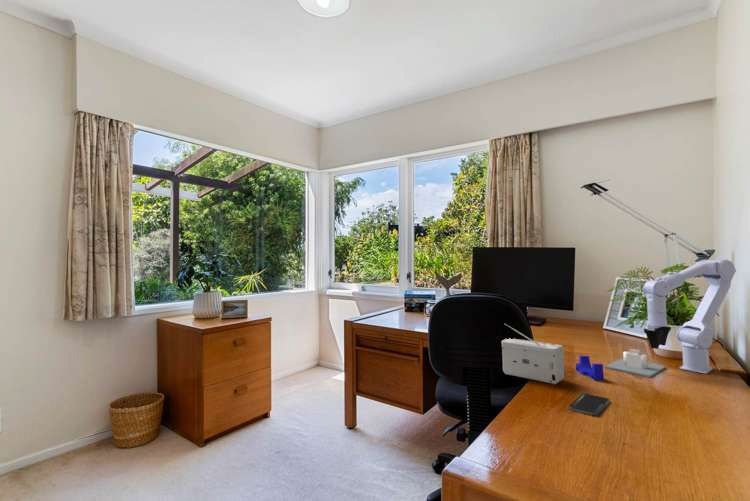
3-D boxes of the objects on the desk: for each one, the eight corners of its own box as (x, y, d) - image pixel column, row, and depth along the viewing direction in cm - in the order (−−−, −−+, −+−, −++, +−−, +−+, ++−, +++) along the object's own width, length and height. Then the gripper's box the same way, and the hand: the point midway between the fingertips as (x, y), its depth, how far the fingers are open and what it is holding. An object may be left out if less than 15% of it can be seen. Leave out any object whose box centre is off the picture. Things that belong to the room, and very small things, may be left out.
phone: (567, 407, 107) (583, 392, 118) (567, 411, 107) (583, 396, 117) (597, 414, 101) (611, 398, 112) (598, 418, 101) (611, 402, 112)
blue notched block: (575, 370, 142) (575, 355, 142) (587, 370, 142) (587, 355, 142) (590, 381, 130) (589, 364, 131) (603, 381, 130) (603, 364, 130)
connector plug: (625, 363, 146) (624, 347, 147) (648, 367, 140) (648, 351, 140) (622, 364, 145) (621, 348, 145) (646, 369, 138) (645, 352, 138)
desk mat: (622, 360, 153) (622, 358, 153) (665, 368, 141) (665, 366, 141) (604, 368, 144) (604, 366, 144) (649, 377, 131) (649, 375, 131)
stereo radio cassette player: (565, 380, 131) (563, 325, 132) (558, 386, 125) (556, 329, 126) (509, 369, 146) (507, 320, 146) (500, 374, 140) (498, 323, 140)
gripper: (651, 308, 146) (652, 341, 146) (637, 312, 138) (638, 347, 138) (672, 310, 141) (674, 344, 140) (659, 314, 132) (661, 351, 132)
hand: (658, 346), depth 139 cm, fingers open, 7 cm apart
